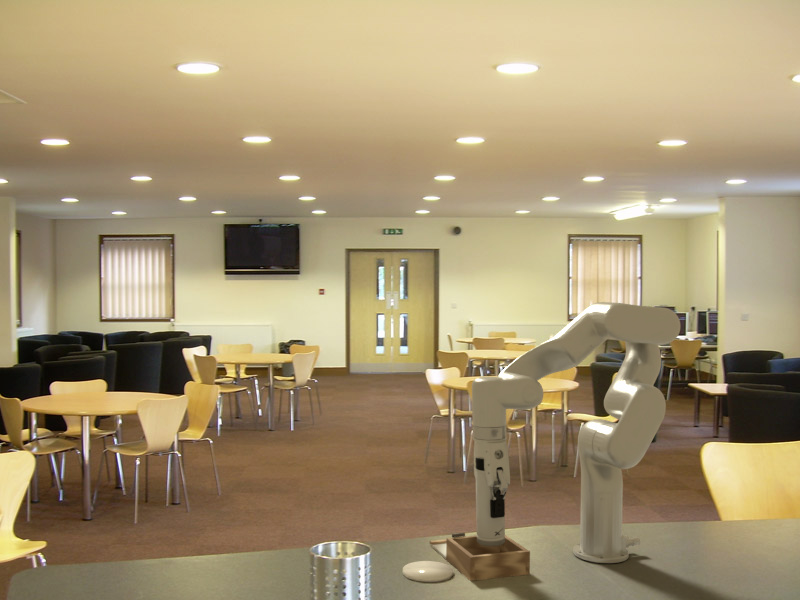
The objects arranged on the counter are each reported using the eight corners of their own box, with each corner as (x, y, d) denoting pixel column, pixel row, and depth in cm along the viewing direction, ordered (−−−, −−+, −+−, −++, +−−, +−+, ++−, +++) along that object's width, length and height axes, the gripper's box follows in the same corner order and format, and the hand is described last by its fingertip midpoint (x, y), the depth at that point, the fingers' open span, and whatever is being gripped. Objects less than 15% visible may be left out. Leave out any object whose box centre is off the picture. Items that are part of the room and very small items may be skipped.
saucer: (442, 562, 186) (442, 559, 186) (460, 579, 176) (461, 575, 176) (396, 567, 183) (396, 563, 183) (412, 584, 172) (412, 580, 172)
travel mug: (505, 547, 180) (503, 456, 180) (475, 546, 181) (473, 455, 181) (507, 538, 186) (505, 450, 186) (478, 537, 188) (476, 449, 187)
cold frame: (482, 540, 203) (483, 516, 203) (529, 574, 179) (530, 547, 179) (429, 545, 199) (429, 521, 198) (470, 580, 175) (470, 553, 175)
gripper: (522, 438, 176) (523, 521, 177) (488, 425, 193) (490, 501, 193) (490, 441, 174) (491, 525, 174) (459, 427, 190) (460, 505, 191)
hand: (490, 512), depth 184 cm, fingers closed on travel mug, 6 cm apart
